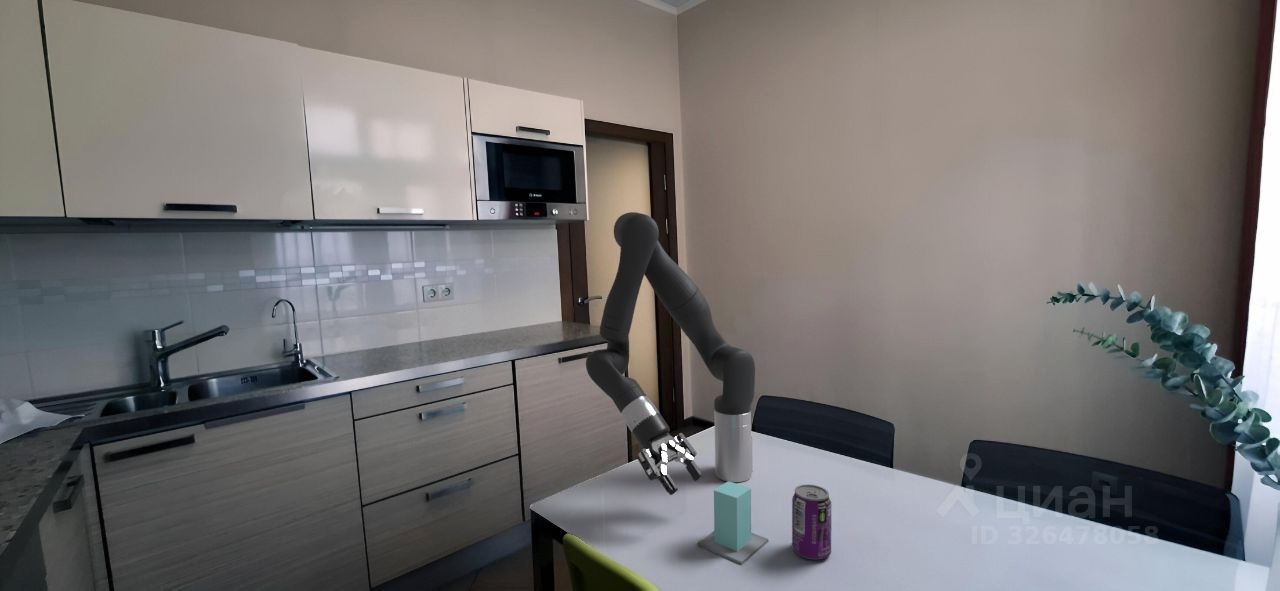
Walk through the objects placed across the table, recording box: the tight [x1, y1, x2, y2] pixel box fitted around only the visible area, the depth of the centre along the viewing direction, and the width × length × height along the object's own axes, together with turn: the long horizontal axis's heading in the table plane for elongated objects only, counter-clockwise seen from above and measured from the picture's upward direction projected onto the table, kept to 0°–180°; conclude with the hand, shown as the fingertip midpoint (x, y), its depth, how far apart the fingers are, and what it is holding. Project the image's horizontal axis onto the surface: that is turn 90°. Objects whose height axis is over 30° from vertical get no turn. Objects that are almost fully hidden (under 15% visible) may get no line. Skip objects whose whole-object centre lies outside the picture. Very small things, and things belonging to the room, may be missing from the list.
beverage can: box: [791, 484, 833, 561], centre depth 100 cm, size 7×7×12 cm
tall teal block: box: [713, 481, 752, 552], centre depth 103 cm, size 5×5×11 cm
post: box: [697, 531, 769, 565], centre depth 103 cm, size 10×10×10 cm
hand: (687, 485), depth 111 cm, fingers open, 8 cm apart
